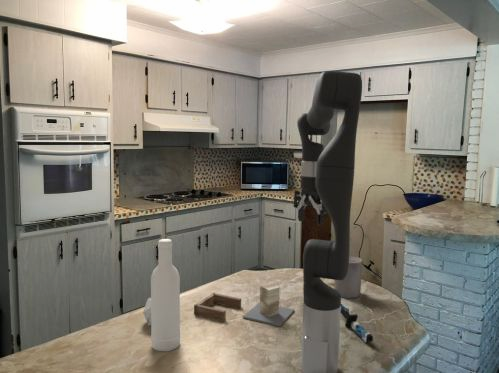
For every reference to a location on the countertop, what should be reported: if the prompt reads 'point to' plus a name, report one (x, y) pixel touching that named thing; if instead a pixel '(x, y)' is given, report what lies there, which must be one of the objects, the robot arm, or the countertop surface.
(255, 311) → the pad
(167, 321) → the bottle
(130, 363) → the countertop surface
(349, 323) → the knife
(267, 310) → the ash block
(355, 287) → the pillar candle
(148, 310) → the die
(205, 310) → the stall
